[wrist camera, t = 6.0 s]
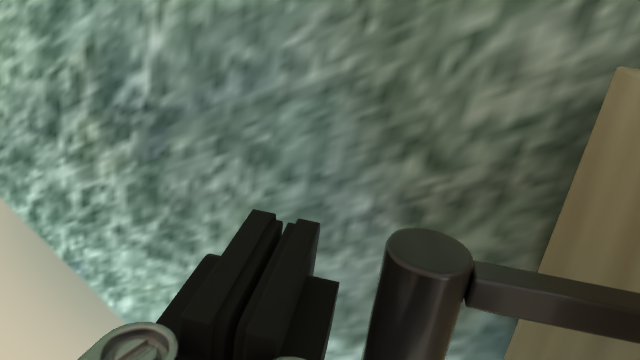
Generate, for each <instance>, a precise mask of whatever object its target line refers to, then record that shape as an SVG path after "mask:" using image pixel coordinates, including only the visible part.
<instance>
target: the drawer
mask: <svg viewBox="0 0 640 360" xmlns="http://www.w3.org/2000/svg"><path fill="white" fill-rule="evenodd" d="M463 299H464V300H465V305H466V307H468V308H470V309H475V310H480V311H485V312H489V313H494V314H499V315H504V316H508V317H513V318H518V319H519V321H518V323H517V326H516V329H515V331H514V334H513V336H512V339H511V341H510V344H509V347H508V349H507V352H506V354H505V357H504V359H503V360H640V69H636V68H629V67H622V66H621V67H618V68H617V69H616V71H615V73H614V76H613V79H612V81H611V84H610V86H609V89H608V91H607V94H606V97H605V99H604V102H603V104H602V107H601V109H600V112H599V115H598V117H597V120H596V122H595V125H594V128H593V130H592V133H591V135H590V138H589V140H588V143H587V146H586V148H585V151H584V153H583V156H582V158H581V161H580V164H579V166H578V169H577V171H576V174H575V176H574V179H573V182H572V184H571V187H570V189H569V192H568V195H567V197H566V200H565V202H564V205H563V207H562V210H561V213H560V215H559V218H558V220H557V223H556V225H555V228H554V231H553V233H552V236H551V238H550V241H549V243H548V246H547V249H546V251H545V254H544V256H543V259H542V262H541V264H540V267H539V269H538V272H532V271H526V270H521V269H516V268H511V267H506V266H501V265H496V264H491V263H486V262H481V261H476V260H473V258H472V255H471V253H470V252H469V250H468V249H467V248H466V247H465V246H464V245H463V244H462V243H460V242H459V241H457V240H456V239H454V238H452V237H450V236H448V235H446V234H444V233H441V232H438V231H434V230H430V229H424V228H405V229H401V230H398V231H396V232H394V233H393V234H392V235H391V236H390V237H389V238H388V240H387V242H386V246H385V251H384V255H383V260H382V265H381V269H380V274H379V279H378V283H377V288H376V293H375V298H374V302H373V307H372V312H371V316H370V321H369V326H368V330H367V335H366V340H365V345H364V349H363V354H362V359H361V360H445V356H446V353H447V350H448V347H449V344H450V341H451V337H452V334H453V331H454V328H455V325H456V322H457V318H458V315H459V312H460V309H461V306H462V303H463Z"/></svg>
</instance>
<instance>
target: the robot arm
mask: <svg viewBox="0 0 640 360" xmlns="http://www.w3.org/2000/svg"><path fill="white" fill-rule="evenodd" d="M282 229H283V222H282V221H279V220H276V214H274V213H269V212H265V211H260V210H255V209H253V210H252V211H251V213H250V214H249V216H248V217H247V219H246V220H245V222H244V223H243V224H242V226H241V227H240V229H239V230H238V232H237V233H236V235H235V236H234V238H233V239H232V241H231V242H230V244H229V245H228V246H227V248H226V249H225V251H224V252H223V254H222V255H221V256H218V255H214V254H207V255H206V256H205V257H204V258H203V260H202V261H201V262H200V264H199V265H198V266H197V268H196V269H195V270H194V272H193V273H192V274H191V276H190V277H189V279H188V280H187V281H186V283H185V284H184V285H183V287H182V288H181V289H180V291H179V292H178V293H177V295H176V296H175V297H174V299H173V300H172V302H171V303H170V304H169V306H168V307H167V308H166V310H165V311H164V312H163V314H162V315H161V316H160V318H159V319H158V320H157V322H156V323H152V322H135V323H130V324H125V325H123V326H120V327H118V328H116V329H113V330H112V331H110V332H109V333H108V334H106V335H105V336H103V337H102V338H101V339H100V340H99V341H98V342H96V343H95V344H94V345H93V346H92V347H91V348H90V349H89V350H87V351H86V352H85V353H84V354H83V355H82V356H81V357H80V358H79V359H78V360H324V358H325V353H326V349H327V345H328V340H329V335H330V331H331V326H332V321H333V316H334V310H335V305H336V300H337V294H338V289H339V282H336V281H332V280H327V279H323V278H318V277H314V276H313V272H314V265H315V259H316V252H317V245H318V239H319V232H320V223H318V222H313V221H308V220H303V219H298V220H297V222H296V224H294V223H288V224H287V226H286V228H285V230H284V232H283V234H282Z"/></svg>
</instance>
